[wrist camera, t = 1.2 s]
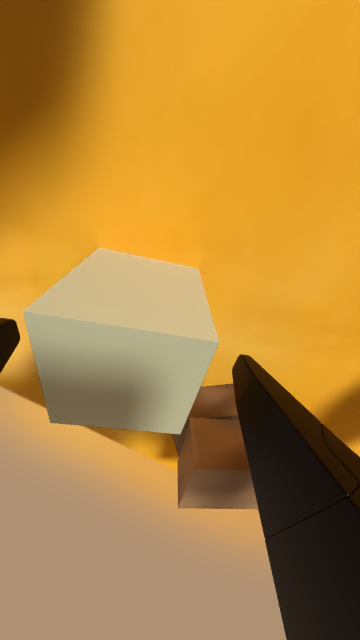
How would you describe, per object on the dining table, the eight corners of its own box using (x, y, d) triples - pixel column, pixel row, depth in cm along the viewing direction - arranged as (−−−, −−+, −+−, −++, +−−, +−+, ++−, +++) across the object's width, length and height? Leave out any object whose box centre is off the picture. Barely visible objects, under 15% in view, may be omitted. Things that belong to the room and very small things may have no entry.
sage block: (198, 268, 11) (219, 342, 6) (178, 340, 13) (180, 434, 8) (99, 247, 10) (23, 311, 5) (99, 328, 13) (50, 422, 8)
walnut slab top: (287, 422, 14) (311, 472, 12) (254, 464, 18) (267, 509, 16) (190, 417, 14) (193, 469, 11) (177, 462, 18) (178, 508, 15)
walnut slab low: (268, 374, 16) (286, 410, 13) (260, 427, 20) (272, 461, 18) (168, 385, 16) (167, 421, 14) (181, 435, 21) (182, 469, 18)
